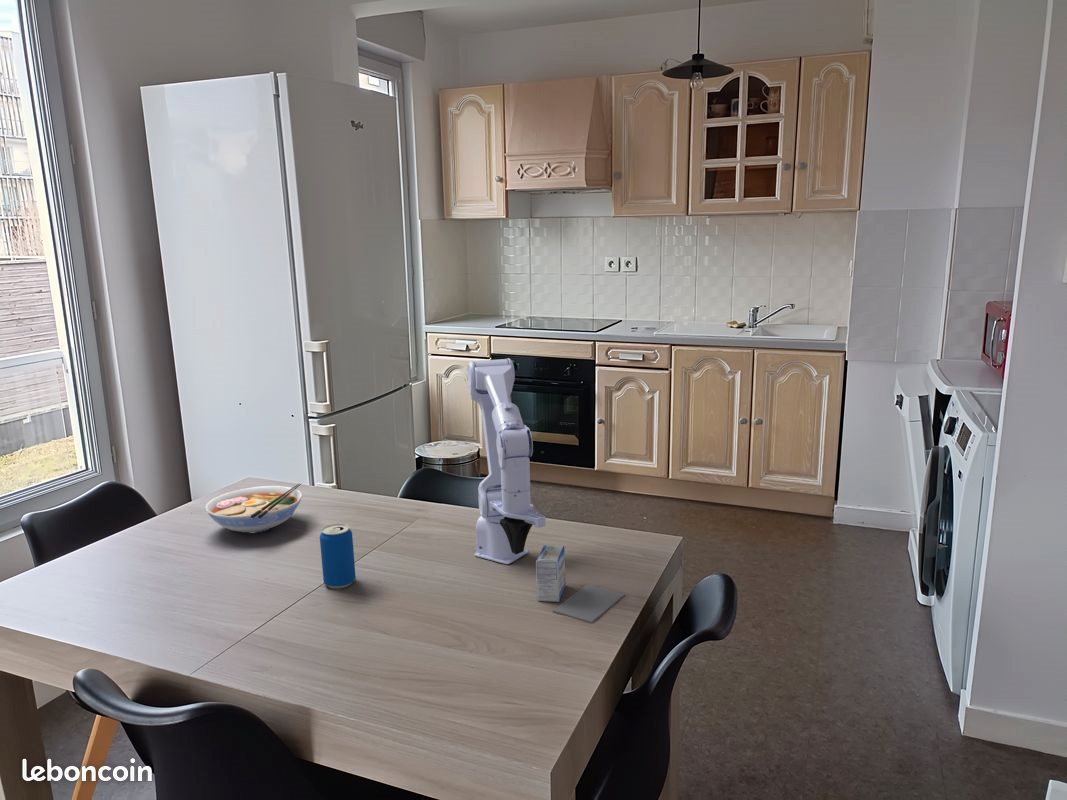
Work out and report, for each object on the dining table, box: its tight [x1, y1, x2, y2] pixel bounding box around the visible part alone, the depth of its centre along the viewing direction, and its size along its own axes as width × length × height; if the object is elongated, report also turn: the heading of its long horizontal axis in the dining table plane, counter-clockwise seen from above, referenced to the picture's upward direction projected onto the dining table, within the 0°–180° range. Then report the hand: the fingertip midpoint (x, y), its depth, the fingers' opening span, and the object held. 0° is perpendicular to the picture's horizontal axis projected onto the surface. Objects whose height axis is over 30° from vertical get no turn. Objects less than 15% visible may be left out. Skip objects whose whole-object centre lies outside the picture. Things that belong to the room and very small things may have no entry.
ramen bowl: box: [204, 483, 303, 533], centre depth 190 cm, size 25×23×8 cm
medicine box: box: [535, 544, 566, 603], centre depth 151 cm, size 8×4×9 cm, turn 168°
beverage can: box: [319, 523, 357, 590], centre depth 158 cm, size 6×6×12 cm
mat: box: [552, 583, 625, 624], centre depth 148 cm, size 8×13×1 cm, turn 146°
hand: (517, 552), depth 155 cm, fingers closed
